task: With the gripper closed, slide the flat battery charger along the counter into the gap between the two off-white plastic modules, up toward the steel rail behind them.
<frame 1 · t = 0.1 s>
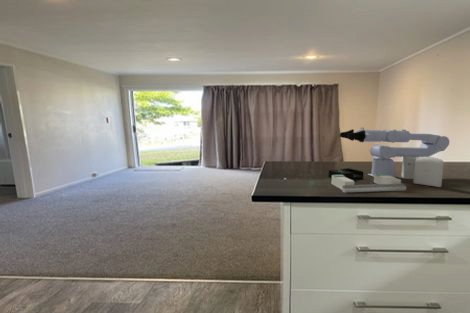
hand: (343, 135, 129), 21 cm above the countertop, tool horizontal, fingers open, 7 cm apart
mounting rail: (374, 190, 109), on the countertop
battery charger: (345, 179, 132), on the countertop
photo printer: (426, 185, 117), on the countertop
module 2: (386, 185, 116), on the countertop
small box: (411, 178, 131), on the countertop, touching arm
module 1: (342, 187, 115), on the countertop
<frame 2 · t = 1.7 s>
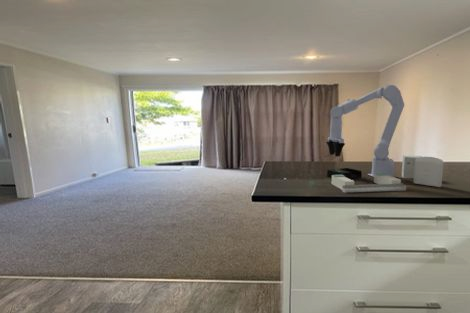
hand: (334, 155, 143), 9 cm above the countertop, tool pointing down, fingers open, 6 cm apart
battery charger: (344, 178, 133), on the countertop
small box: (411, 177, 131), on the countertop
everything else where it was.
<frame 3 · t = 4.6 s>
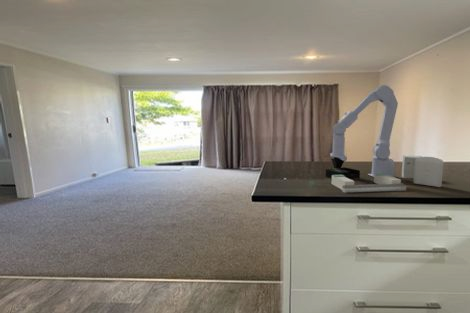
hand: (337, 172, 140), 1 cm above the countertop, tool pointing down, fingers closed
battery charger: (342, 178, 133), on the countertop, touching gripper
everything else where it was.
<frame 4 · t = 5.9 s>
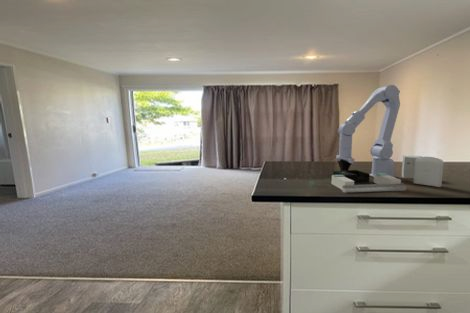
hand: (344, 175, 133), 1 cm above the countertop, tool pointing down, fingers closed
battery charger: (350, 181, 127), on the countertop, touching gripper
everything else where it was.
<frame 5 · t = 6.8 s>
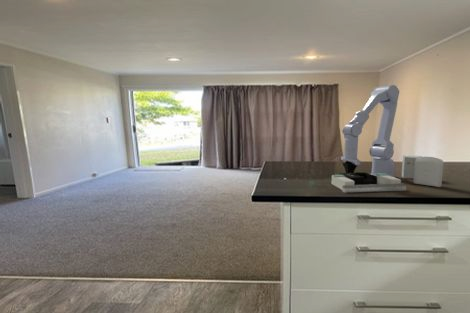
hand: (349, 177, 128), 1 cm above the countertop, tool pointing down, fingers closed
battery charger: (357, 183, 122), on the countertop
everything else where it was.
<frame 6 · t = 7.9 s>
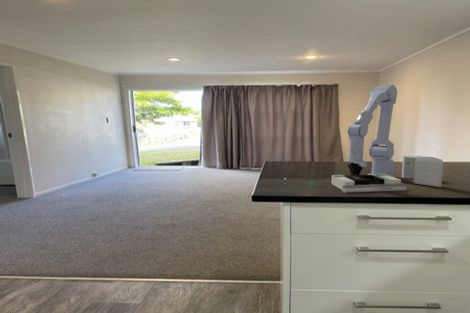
hand: (354, 179, 123), 1 cm above the countertop, tool pointing down, fingers closed
battery charger: (363, 186, 117), on the countertop
everything else where it was.
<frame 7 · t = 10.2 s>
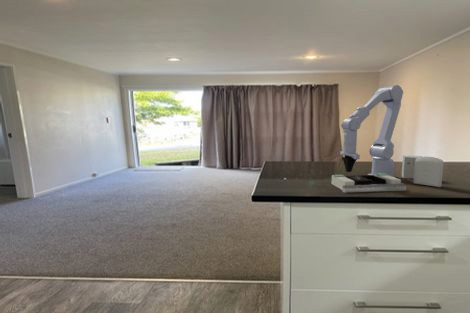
hand: (348, 171, 129), 4 cm above the countertop, tool pointing down, fingers closed
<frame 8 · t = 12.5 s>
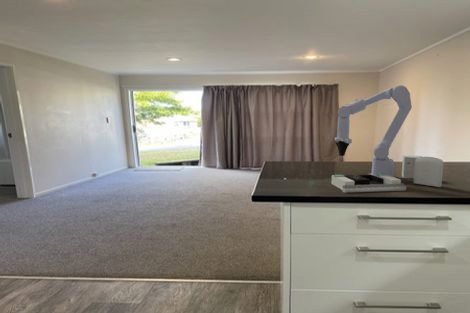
hand: (341, 155, 141), 9 cm above the countertop, tool pointing down, fingers closed
battery charger: (362, 186, 118), on the countertop
everything else where it was.
at the end: battery charger inside the target area (1.6 cm from its centre), on the countertop; battery charger tilted 0°; battery charger moved 13.5 cm from its start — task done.
